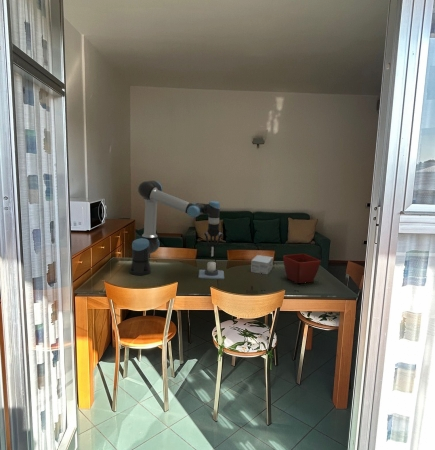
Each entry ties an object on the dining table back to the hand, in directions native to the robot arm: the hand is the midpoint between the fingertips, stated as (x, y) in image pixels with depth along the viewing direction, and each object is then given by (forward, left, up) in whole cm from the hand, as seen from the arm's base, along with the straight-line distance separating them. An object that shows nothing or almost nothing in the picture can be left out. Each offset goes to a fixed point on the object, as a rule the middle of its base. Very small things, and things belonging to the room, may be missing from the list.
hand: (212, 255), depth 240 cm
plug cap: (0, 0, -13) cm, 13 cm away
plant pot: (+63, -4, -15) cm, 65 cm away
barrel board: (0, 0, -14) cm, 14 cm away
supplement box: (+39, +17, -15) cm, 45 cm away
